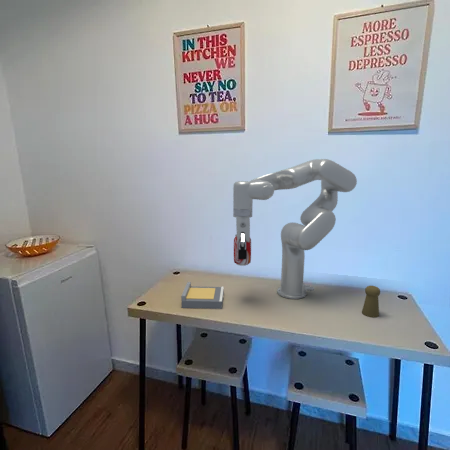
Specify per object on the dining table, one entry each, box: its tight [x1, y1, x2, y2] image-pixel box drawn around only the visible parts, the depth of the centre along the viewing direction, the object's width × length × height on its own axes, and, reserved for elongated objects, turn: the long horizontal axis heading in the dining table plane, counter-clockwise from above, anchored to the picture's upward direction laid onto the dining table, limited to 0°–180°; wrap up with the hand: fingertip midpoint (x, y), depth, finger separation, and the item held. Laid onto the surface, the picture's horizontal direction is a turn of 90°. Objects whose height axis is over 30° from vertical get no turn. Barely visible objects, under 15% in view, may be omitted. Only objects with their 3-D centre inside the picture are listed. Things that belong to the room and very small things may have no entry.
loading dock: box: [180, 281, 225, 310], centre depth 131 cm, size 16×15×5 cm
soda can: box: [233, 233, 252, 267], centre depth 126 cm, size 7×7×12 cm
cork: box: [361, 285, 381, 319], centre depth 119 cm, size 6×6×11 cm
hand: (242, 255), depth 127 cm, fingers closed on soda can, 7 cm apart
